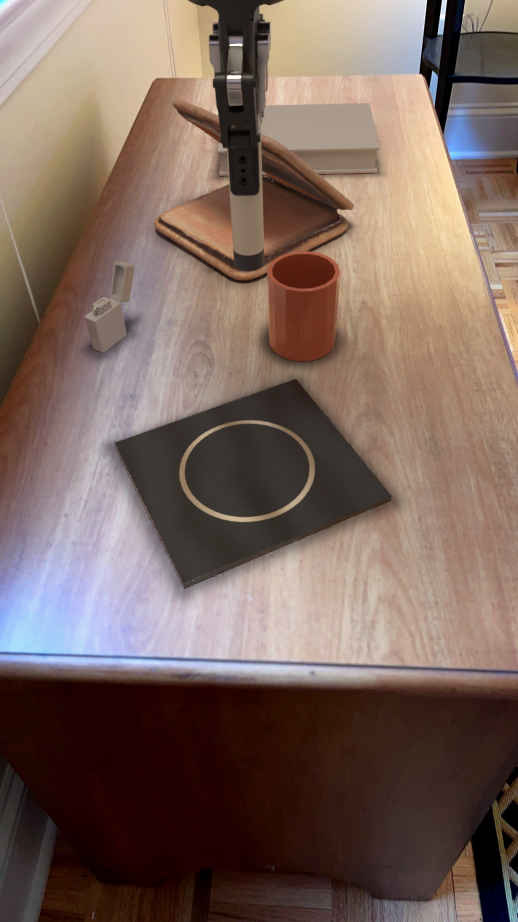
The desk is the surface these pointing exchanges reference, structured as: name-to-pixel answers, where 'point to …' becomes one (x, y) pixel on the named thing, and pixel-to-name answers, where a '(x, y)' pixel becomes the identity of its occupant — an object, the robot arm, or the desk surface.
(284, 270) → the pen cup
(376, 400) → the desk surface
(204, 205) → the case
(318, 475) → the black flat square pad
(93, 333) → the lighter
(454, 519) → the desk surface
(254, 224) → the cylinder
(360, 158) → the book
